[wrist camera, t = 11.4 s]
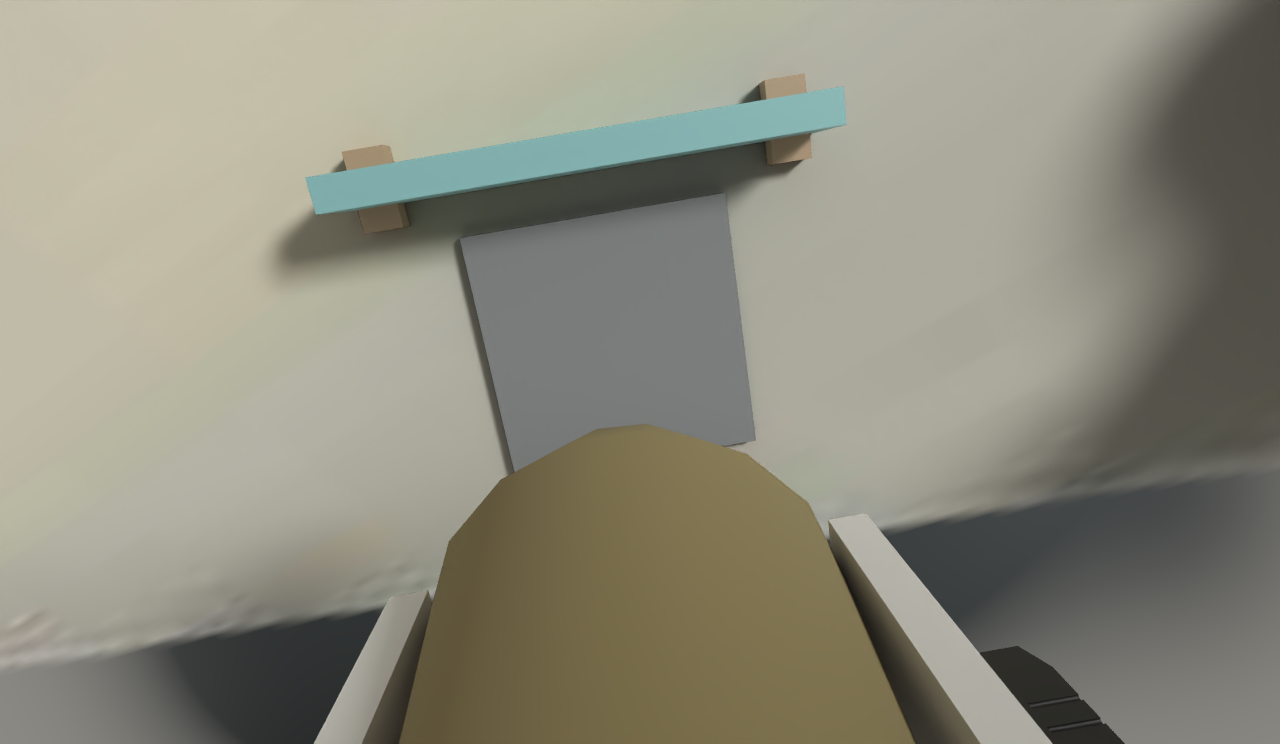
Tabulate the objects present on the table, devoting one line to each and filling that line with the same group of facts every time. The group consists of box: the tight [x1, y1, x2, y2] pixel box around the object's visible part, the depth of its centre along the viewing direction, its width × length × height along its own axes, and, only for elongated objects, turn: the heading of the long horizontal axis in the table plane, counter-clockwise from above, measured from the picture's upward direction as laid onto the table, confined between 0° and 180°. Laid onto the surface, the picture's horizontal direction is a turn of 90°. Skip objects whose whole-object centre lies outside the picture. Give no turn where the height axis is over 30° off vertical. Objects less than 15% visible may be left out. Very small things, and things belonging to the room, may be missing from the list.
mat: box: [459, 193, 756, 472], centre depth 37 cm, size 14×14×1 cm
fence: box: [306, 74, 846, 234], centre depth 32 cm, size 4×24×5 cm, turn 99°
